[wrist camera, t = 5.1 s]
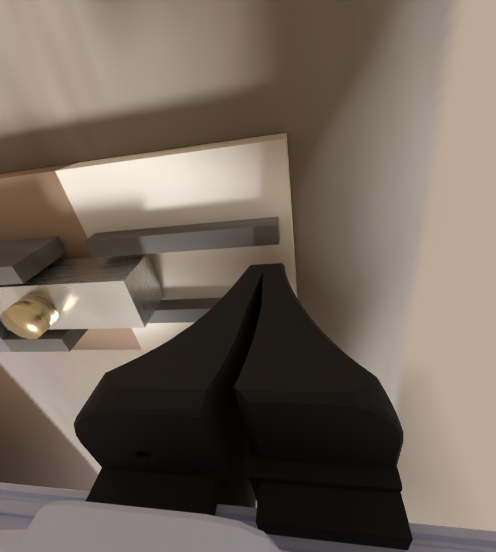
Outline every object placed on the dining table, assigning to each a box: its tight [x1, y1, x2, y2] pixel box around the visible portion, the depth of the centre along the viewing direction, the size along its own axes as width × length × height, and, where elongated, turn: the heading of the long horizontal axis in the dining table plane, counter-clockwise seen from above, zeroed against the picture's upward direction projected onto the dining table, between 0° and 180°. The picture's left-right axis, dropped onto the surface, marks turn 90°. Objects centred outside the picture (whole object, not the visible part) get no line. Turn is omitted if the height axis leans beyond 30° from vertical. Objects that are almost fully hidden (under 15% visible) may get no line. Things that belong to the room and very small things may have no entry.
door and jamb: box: [0, 133, 298, 352], centre depth 13 cm, size 10×15×4 cm, turn 99°
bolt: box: [0, 254, 164, 339], centre depth 13 cm, size 2×7×3 cm, turn 99°
